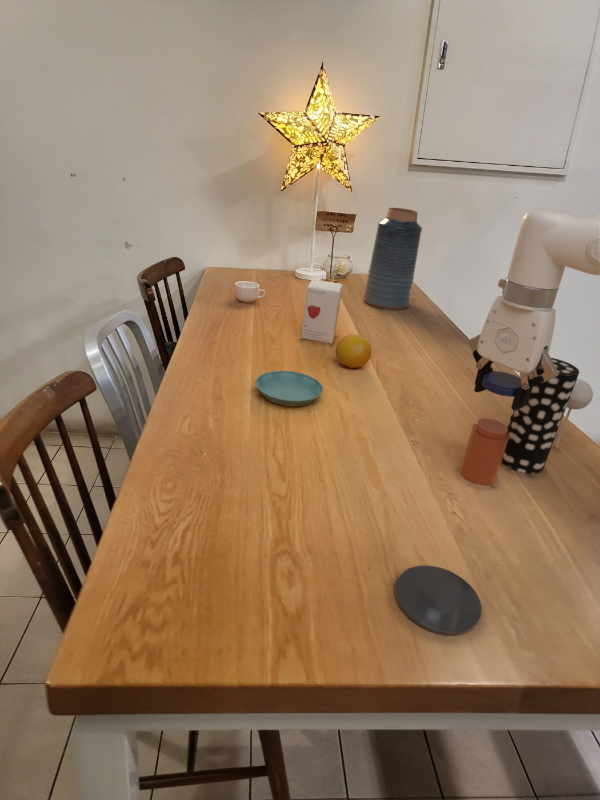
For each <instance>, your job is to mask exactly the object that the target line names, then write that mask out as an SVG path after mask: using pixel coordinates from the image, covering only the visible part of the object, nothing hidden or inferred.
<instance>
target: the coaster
mask: <svg viewBox="0 0 600 800" xmlns="http://www.w3.org/2000/svg"><path fill="white" fill-rule="evenodd" d="M394 595H395V596H394V598H395V601H396V603H397V605H398V607H399V609H400V610H401V611H402V613H403V614H404V615H405V616H406V617H407V619H409V621H411V622H413V624H414V625H417V626H418V627H420V628H421V629H424V630H425V631H428V632H430V633H434V634H437V635H442V636H451V637H452V636H460V635H465V634H466V633H469V632H470V631H472V630H474V628H476V627H477V625H478V624H479V622H480V619H481V617H482V612H483V611H482V603H481V600H480V597H479V595H478V593H477V592H476V590H475V589H474V588H473V586H472V585H470V583H468V582H467V581H466V580H465V579H464V578H463V577H461V576H460V575H458V574H457V573H455V572H452V571H450V570H448V569H445V568H442V567H439V566H435V565H417V566H412V567H410V568H408V569H406V570H404V571H403V572H401V573H400V575H399V576H398V577H397V579H396V581H395V586H394Z"/></svg>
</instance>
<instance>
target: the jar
mask: <svg viewBox="0 0 600 800" xmlns="http://www.w3.org/2000/svg"><path fill="white" fill-rule="evenodd" d="M468 435H469V436H468V438H467V443H466V445H465V448H464V453H463V456H462V459H461V463H460V465H459V466H460V467H459V474H460V475H461V476H462V477H463V478H464V479H465V480H466V481H468V482H470V483H473V484H475V485H480V486H490V485H493V484H494V483H495V482H496V481H497V477H498V474H499V471H500V468H501V465H502V459H503V456H504V453H505V450H506V447H507V444H508V441H509V438H510V436H509V434H508V428H507V425H506V424H504V423H503V422H501V421H498V420H496V419H493V418H480V419H478V420H476V421H475V423H474V424H472V425H471V428H470V432H469V434H468Z"/></svg>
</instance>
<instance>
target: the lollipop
mask: <svg viewBox="0 0 600 800" xmlns="http://www.w3.org/2000/svg"><path fill="white" fill-rule="evenodd" d="M593 397H594V392H593V388H592V387H591V385H590V384H589V383H588V382H586V381H585V380H583V379H579V378H577V380H576V383H575V385H574V388H573V391H572V393H571V396H570V399H569V401H568V404H567V407H566V409H567V412H566V415H565V418H564V420H563V423H562V426H561V428H560V430H559V434H558V437H557V439H556V442H555V444H554V448H558V446H559V443H560V441H561V438H562V435H563V433H564V431H565V427H566V424H567V422H568V419H569V417H570V414H571V412H572V410H581V409H585V408H586V407H587V406H588V405H590V403H591V402H592V400H593Z"/></svg>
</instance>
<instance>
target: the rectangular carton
mask: <svg viewBox="0 0 600 800" xmlns="http://www.w3.org/2000/svg"><path fill="white" fill-rule="evenodd" d="M309 282H310V283H309V284H308V285H307V288H306V296H305V304H304V311H303V319H302V320H303V321H302V329H301V335H300V338H301V339H302V340H308V341H312V342H313V341H314V342H319V343H320V342H321V343H325V344H333V342H334V339H335V336H336V332H337V326H338V319H339V313H340V305H341V299H342V294H343V293H342V292H343V287H344V284H343V283H339V282H332V281H328V280H320V279H313V278H312V279H311V281H309Z"/></svg>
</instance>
